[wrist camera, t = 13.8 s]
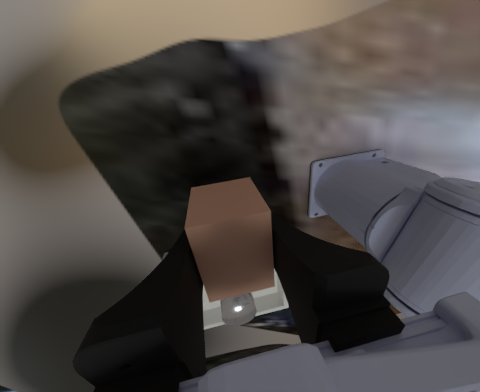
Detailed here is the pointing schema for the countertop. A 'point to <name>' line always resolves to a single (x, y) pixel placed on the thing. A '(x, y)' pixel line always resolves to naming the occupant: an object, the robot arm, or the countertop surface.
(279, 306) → the tray
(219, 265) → the carton
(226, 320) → the tin
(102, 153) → the countertop surface
